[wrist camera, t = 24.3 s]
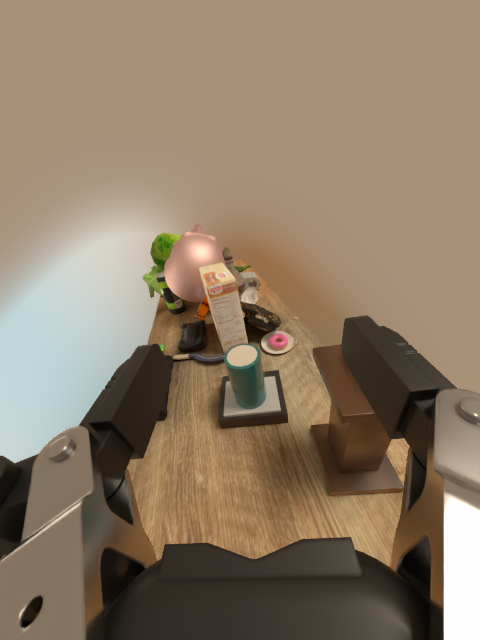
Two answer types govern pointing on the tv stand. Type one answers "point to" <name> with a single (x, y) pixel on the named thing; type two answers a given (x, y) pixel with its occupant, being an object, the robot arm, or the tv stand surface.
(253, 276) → the sloped support bracket
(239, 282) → the decorative bottle
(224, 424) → the scale
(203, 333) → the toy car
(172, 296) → the beverage can
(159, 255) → the lettuce
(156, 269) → the green plant
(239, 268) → the green leaf
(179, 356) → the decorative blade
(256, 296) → the seashell
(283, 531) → the tv stand surface
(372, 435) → the stand
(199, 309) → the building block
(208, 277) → the coffeecake box
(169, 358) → the flashlight
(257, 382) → the cup
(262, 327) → the fossil rock
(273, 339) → the donut
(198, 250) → the head sculpture
